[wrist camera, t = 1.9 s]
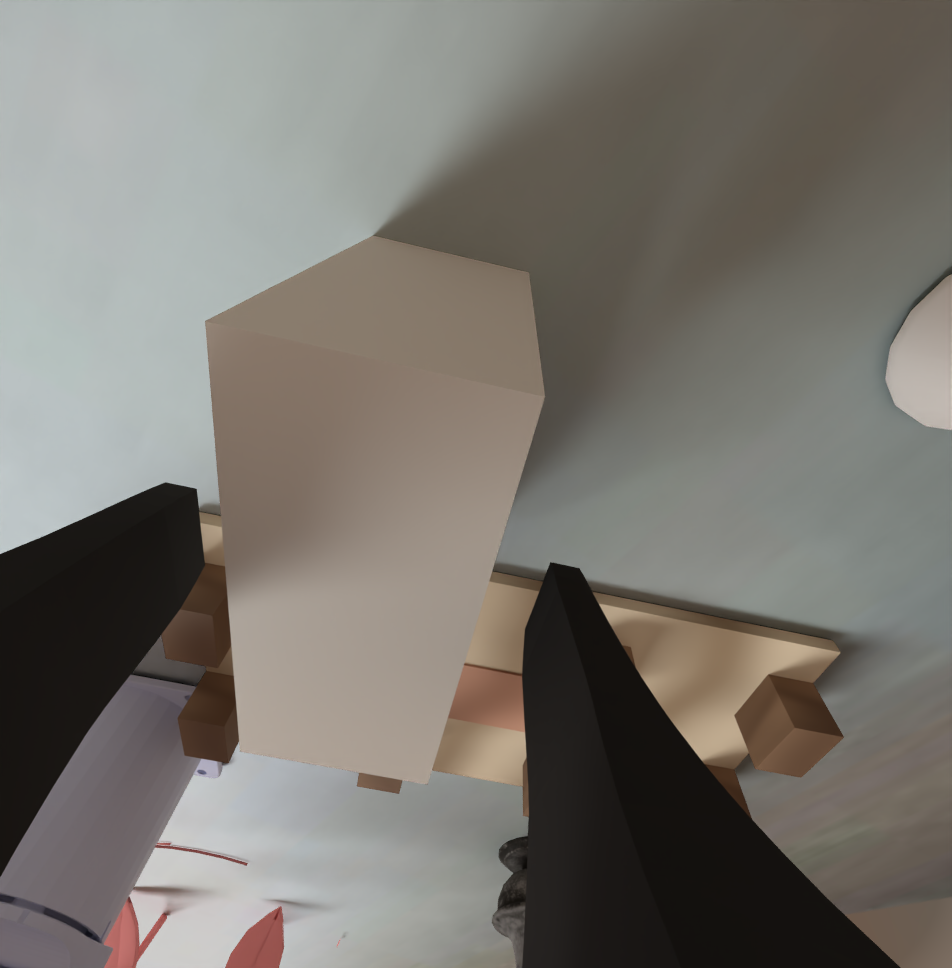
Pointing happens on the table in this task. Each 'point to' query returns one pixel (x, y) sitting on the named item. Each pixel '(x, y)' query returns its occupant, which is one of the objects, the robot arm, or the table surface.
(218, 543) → the notch rack
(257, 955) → the pink flower cutout
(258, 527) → the tall beige pillar block
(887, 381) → the lidless jar
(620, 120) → the table surface
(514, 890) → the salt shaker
